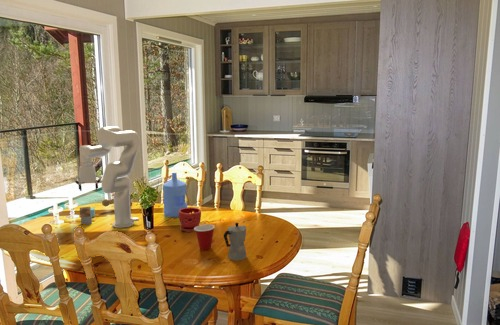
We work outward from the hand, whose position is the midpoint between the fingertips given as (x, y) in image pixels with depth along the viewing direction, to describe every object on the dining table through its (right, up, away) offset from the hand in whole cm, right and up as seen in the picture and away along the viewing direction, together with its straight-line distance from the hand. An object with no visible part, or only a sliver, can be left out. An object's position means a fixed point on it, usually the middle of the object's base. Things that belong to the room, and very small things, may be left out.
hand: (88, 189), depth 271 cm
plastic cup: (+82, -28, -53) cm, 102 cm away
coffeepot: (+99, -30, -66) cm, 122 cm away
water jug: (+56, -17, +6) cm, 59 cm away
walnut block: (+3, -15, -12) cm, 20 cm away
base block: (+3, -20, -12) cm, 24 cm away
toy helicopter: (+14, -15, +20) cm, 28 cm away
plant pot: (+71, -22, -24) cm, 78 cm away
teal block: (+1, -18, +3) cm, 18 cm away
